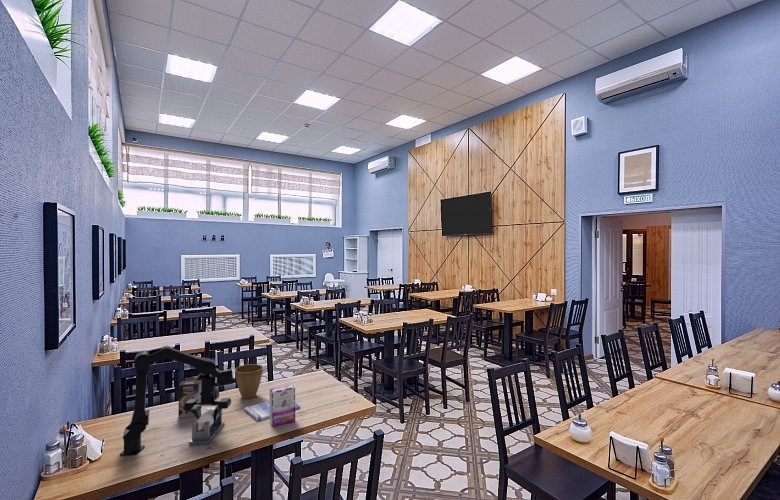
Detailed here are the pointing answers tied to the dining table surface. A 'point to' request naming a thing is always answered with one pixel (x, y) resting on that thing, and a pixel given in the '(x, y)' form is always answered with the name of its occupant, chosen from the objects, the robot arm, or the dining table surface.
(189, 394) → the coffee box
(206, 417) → the paper roll
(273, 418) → the candy bar box
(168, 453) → the dining table surface
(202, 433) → the roll holder
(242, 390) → the plant pot
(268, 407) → the dish towel
